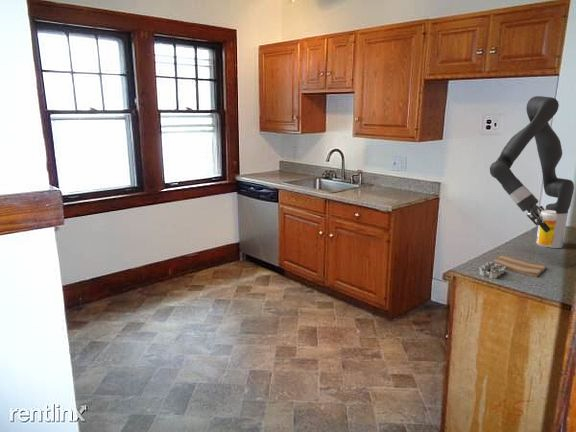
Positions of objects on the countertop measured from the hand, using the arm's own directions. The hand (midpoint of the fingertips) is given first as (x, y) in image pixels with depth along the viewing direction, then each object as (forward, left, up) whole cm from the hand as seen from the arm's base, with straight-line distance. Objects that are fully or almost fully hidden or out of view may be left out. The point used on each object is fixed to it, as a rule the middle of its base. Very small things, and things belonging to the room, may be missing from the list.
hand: (550, 229), depth 174 cm
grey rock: (+26, -13, -16) cm, 34 cm away
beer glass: (0, -2, -7) cm, 8 cm away
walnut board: (+12, -8, -16) cm, 21 cm away
